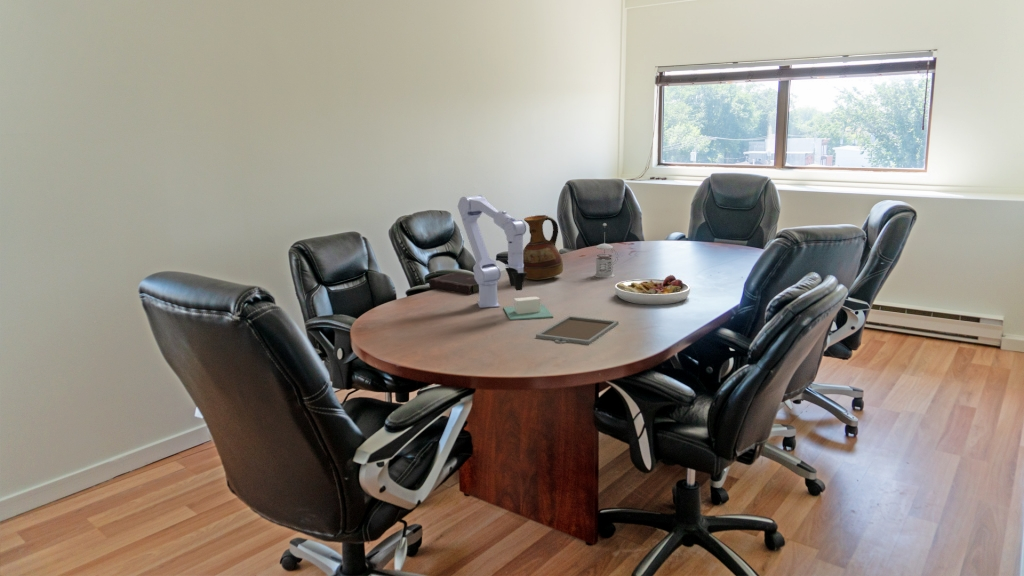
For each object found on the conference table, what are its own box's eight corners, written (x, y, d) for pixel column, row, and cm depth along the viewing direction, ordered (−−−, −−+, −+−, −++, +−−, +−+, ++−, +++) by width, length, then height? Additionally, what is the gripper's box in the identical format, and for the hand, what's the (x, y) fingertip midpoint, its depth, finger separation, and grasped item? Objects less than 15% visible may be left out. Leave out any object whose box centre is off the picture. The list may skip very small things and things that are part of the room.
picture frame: (618, 320, 242) (586, 343, 217) (618, 325, 243) (586, 348, 217) (569, 315, 251) (531, 336, 226) (569, 319, 252) (532, 341, 226)
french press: (590, 274, 330) (590, 222, 325) (612, 272, 334) (613, 221, 328) (599, 278, 321) (599, 225, 316) (621, 276, 324) (622, 223, 319)
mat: (503, 308, 268) (503, 307, 268) (543, 306, 270) (543, 304, 270) (510, 320, 251) (510, 318, 250) (553, 317, 253) (553, 316, 253)
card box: (536, 309, 264) (536, 296, 263) (540, 311, 260) (540, 298, 258) (514, 311, 261) (513, 298, 260) (517, 314, 257) (517, 301, 256)
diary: (469, 296, 293) (468, 285, 292) (429, 289, 309) (428, 278, 307) (498, 288, 306) (497, 277, 305) (458, 281, 322) (458, 271, 321)
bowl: (658, 310, 261) (658, 290, 259) (599, 298, 283) (599, 279, 281) (704, 297, 279) (705, 278, 278) (646, 286, 302) (646, 269, 300)
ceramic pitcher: (513, 277, 328) (512, 214, 322) (550, 272, 337) (550, 211, 330) (532, 284, 311) (531, 218, 305) (570, 279, 319) (570, 215, 313)
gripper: (500, 250, 264) (501, 284, 267) (510, 256, 250) (510, 292, 253) (518, 249, 265) (518, 283, 268) (528, 255, 252) (529, 291, 255)
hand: (516, 288), depth 261 cm, fingers open, 7 cm apart
